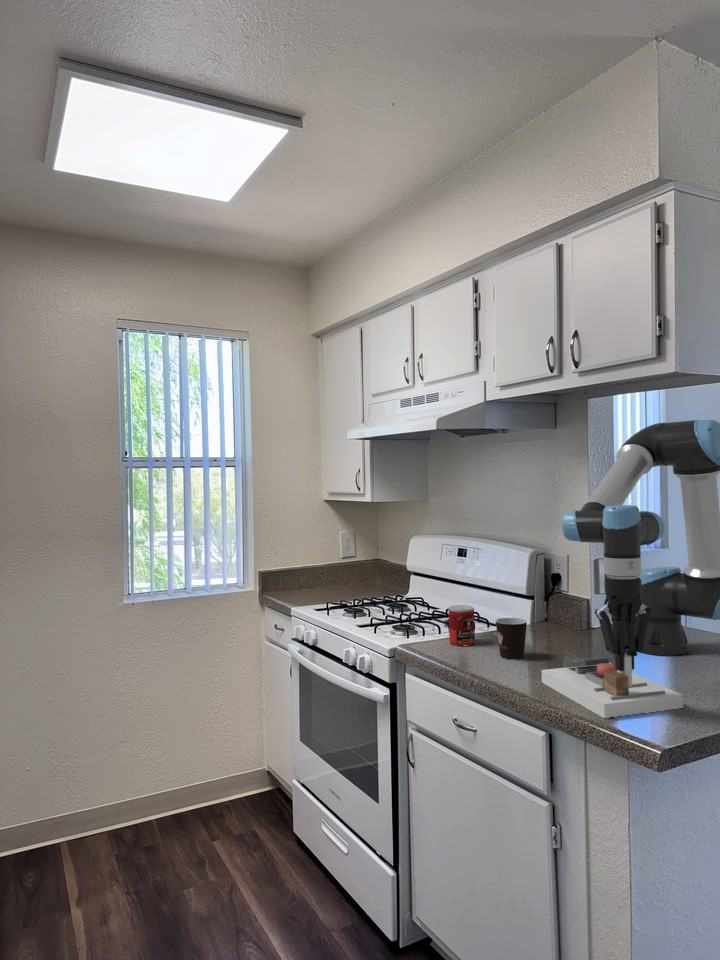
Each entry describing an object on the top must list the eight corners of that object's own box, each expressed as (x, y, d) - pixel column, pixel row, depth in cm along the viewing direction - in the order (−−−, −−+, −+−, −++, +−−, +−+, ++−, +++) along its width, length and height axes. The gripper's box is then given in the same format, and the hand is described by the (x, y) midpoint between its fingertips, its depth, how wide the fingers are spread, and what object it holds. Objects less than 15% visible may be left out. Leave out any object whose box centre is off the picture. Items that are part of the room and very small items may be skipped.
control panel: (610, 674, 169) (609, 657, 169) (683, 708, 144) (682, 688, 144) (541, 682, 165) (541, 664, 165) (604, 718, 139) (604, 697, 139)
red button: (609, 671, 157) (609, 662, 157) (621, 676, 153) (621, 667, 153) (593, 672, 156) (593, 664, 156) (604, 678, 152) (604, 669, 152)
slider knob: (616, 689, 148) (615, 670, 148) (628, 695, 144) (628, 676, 144) (604, 690, 148) (603, 672, 148) (616, 696, 143) (616, 677, 143)
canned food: (458, 647, 199) (457, 610, 199) (444, 642, 207) (443, 606, 207) (480, 644, 203) (479, 608, 202) (465, 639, 210) (464, 603, 210)
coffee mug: (528, 661, 184) (527, 624, 183) (496, 660, 185) (495, 623, 185) (526, 650, 195) (525, 615, 195) (496, 649, 197) (495, 615, 197)
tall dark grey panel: (588, 665, 167) (587, 659, 167) (609, 663, 159) (607, 657, 159) (566, 667, 166) (565, 662, 166) (586, 666, 157) (585, 660, 158)
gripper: (606, 580, 141) (609, 693, 141) (660, 577, 144) (662, 687, 144) (586, 575, 148) (588, 682, 148) (637, 572, 151) (640, 677, 152)
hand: (625, 684), depth 146 cm, fingers closed
